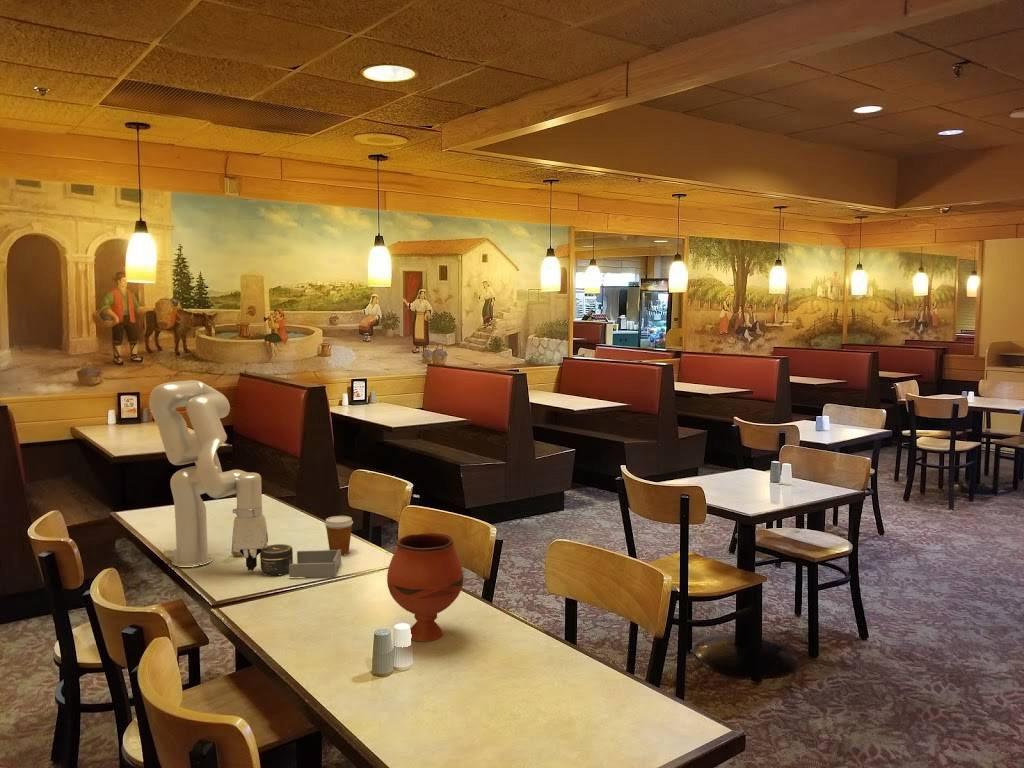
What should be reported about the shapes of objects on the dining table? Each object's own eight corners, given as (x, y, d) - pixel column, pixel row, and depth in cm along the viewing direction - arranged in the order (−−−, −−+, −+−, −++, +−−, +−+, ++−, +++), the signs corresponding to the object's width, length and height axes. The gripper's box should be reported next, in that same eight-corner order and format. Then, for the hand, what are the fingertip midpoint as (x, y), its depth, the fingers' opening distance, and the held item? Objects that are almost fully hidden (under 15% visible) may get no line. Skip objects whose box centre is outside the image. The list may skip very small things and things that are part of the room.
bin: (289, 578, 245) (289, 563, 245) (297, 564, 259) (297, 549, 259) (335, 577, 247) (334, 561, 246) (341, 563, 260) (340, 548, 260)
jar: (283, 578, 246) (283, 553, 245) (254, 575, 248) (253, 551, 247) (298, 567, 256) (298, 544, 255) (270, 565, 258) (269, 542, 257)
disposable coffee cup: (350, 557, 266) (349, 522, 265) (322, 557, 267) (321, 522, 265) (356, 549, 276) (355, 515, 275) (329, 549, 276) (328, 515, 275)
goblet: (474, 625, 209) (474, 533, 206) (444, 655, 191) (443, 554, 188) (409, 616, 215) (408, 526, 213) (374, 644, 197) (372, 546, 195)
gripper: (222, 515, 245) (224, 573, 247) (271, 514, 246) (272, 572, 248) (228, 509, 253) (230, 566, 254) (276, 508, 254) (278, 564, 255)
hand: (251, 569), depth 251 cm, fingers closed
